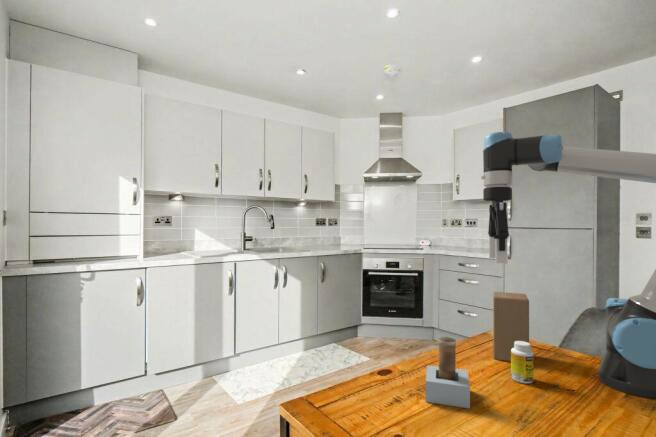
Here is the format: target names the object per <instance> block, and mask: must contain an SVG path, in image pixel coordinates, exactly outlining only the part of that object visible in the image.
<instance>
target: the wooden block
mask: <svg viewBox="0 0 656 437" xmlns="http://www.w3.org/2000/svg"><path fill="white" fill-rule="evenodd" d="M492 294H493V295H492V297H493V298H492V301H493V305H492V306H493V307H492V308H493V309H492V310H493V311H492V312H493V313H492V315H493V316H492V317H493V319H492V321H493V322H492V324H493V326H492V327H493V328H492V335H493V337H492V341H493V342H492V349H493V350H492V352H493V353H492V354H493V359H494V360H497V361H498V360H499V361H505V362H510V363H511V349H512V348H514V342H515V341H524V342H528V343H530V300H529V298H528V296H527V294H525V293H518V292H504V291H493V293H492Z"/></svg>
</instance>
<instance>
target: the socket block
mask: <svg viewBox="0 0 656 437" xmlns="http://www.w3.org/2000/svg"><path fill="white" fill-rule="evenodd" d="M470 385H471V384H470V378H469V373H468V370H467V369H459V368H456V374H455V381H452V380H444V379H439V366H436V365H430V364H429V365H427V366H426V375H425V403H433V404H438V405H445V406H452V407H458V408H463V409H464V408H466V409H470V408H471V386H470Z"/></svg>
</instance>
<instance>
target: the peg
mask: <svg viewBox="0 0 656 437" xmlns="http://www.w3.org/2000/svg"><path fill="white" fill-rule="evenodd" d="M456 340H457V339H455V338H454V337H450V336H441V337H439V338H438V367H439V379H444V380H452V381H455V374H456V369H457V367H456V366H457V365H456V362H457V361H456V360H457V359H456V357H457V356H456V354H457V353H456V350H457V349H456V346H457V345H456V344H457V343H456V342H457V341H456Z"/></svg>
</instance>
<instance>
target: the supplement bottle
mask: <svg viewBox="0 0 656 437" xmlns="http://www.w3.org/2000/svg"><path fill="white" fill-rule="evenodd" d="M534 356H535V355H534V352H533V350H532V349H531V343H530V342H529V343H528V342H524V341H515V342H514V348H512V349H511V362H510V378H511V379H512V381H513V380H514V381H515V382H517V383H519V384H529V385H530V384H532V383H533V382H534V378H535V377H534V376H535V375H534V372H535V371H534V370H535V369H534V368H535V366H534V358H535V357H534Z"/></svg>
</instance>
